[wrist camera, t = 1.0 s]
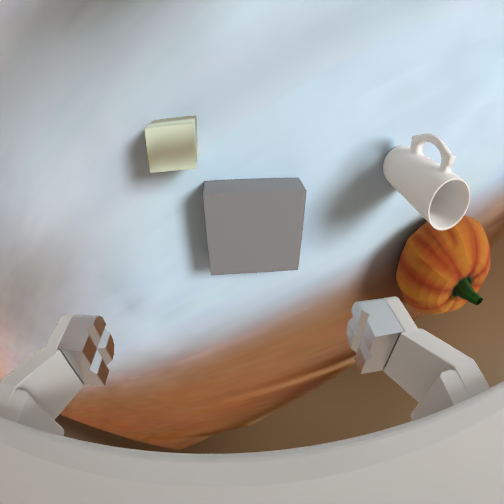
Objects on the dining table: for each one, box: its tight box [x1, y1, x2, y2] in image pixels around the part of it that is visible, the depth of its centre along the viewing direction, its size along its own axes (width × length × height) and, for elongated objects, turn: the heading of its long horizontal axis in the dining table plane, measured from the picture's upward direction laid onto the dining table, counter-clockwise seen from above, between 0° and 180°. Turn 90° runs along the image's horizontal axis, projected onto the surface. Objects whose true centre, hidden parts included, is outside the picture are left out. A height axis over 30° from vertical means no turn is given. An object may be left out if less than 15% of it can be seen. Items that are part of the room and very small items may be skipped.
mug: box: [383, 134, 470, 230], centre depth 31 cm, size 10×7×12 cm, turn 5°
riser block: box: [203, 178, 306, 275], centre depth 39 cm, size 12×12×4 cm
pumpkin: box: [396, 216, 490, 315], centre depth 41 cm, size 19×19×15 cm
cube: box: [145, 116, 199, 173], centre depth 31 cm, size 5×5×5 cm
